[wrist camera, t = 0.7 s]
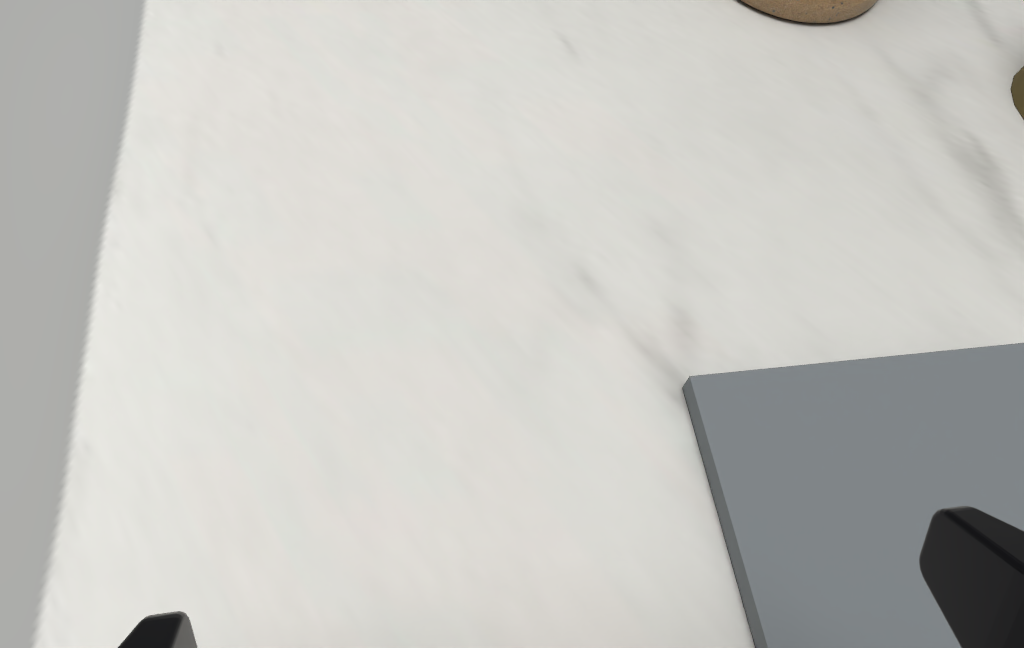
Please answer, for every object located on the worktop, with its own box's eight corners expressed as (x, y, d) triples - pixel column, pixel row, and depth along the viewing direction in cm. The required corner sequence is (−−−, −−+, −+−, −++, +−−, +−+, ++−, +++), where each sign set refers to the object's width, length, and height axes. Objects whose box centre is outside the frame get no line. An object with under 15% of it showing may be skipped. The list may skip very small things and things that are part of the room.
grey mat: (1217, 745, 21) (1244, 744, 20) (806, 827, 19) (820, 829, 18) (1013, 353, 27) (1029, 342, 26) (682, 387, 25) (689, 376, 24)
